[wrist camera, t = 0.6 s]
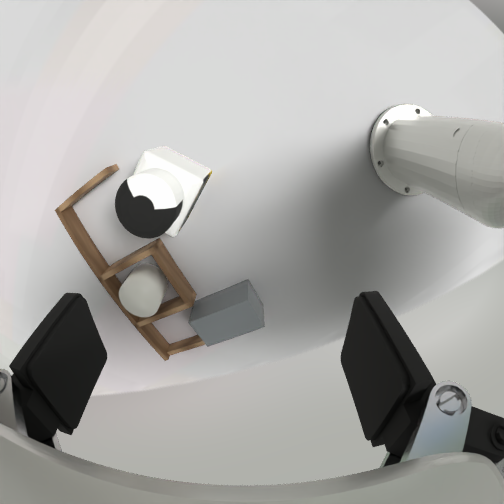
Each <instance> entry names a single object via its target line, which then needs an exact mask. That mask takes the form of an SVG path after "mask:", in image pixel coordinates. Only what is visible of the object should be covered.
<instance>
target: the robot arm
mask: <svg viewBox="0 0 504 504" xmlns="http://www.w3.org/2000/svg"><path fill="white" fill-rule="evenodd" d="M383 120H384V124H383ZM370 153H371V159H372V163H373V166H374V168H375V170H376V173H377V175H378V176H379V177H380V179H381V180H382V181H383V182H384V183H385V184H386V185H387V186H388V187H389V188H391V189H392V190H394V191H396V192H398V193H400V194H403V195H413V196H414V195H419V194H422V193H426V194H428V195H430V196H432V197H434V198H436V199H438V200H440V201H442V202H444V203H445V204H447V205H449V206H451V207H453V208H455V209H457V210H458V211H460V212H462V213H464V214H465V215H467V216H469V217H471V218H472V219H474V220H476V221H478V222H480V223H481V224H483V225H485V226H488V227H491V228H500V229H501V228H504V123H501V122H494V121H487V120H478V119H469V118H458V117H444V116H433V115H432V114H430V113H429V112H428V111H427V110H425V109H423V108H421V107H420V106H416V105H413V104H400V105H396V106H393V107H391V108H389V109H387V110H386V111H385V112H384V113H383V114H382V115H381V116H380V117H379V118H378V120H377V121H376V123H375V125H374V128H373V130H372V134H371V139H370ZM378 161H379V164H378ZM106 360H107V352H106V349H105V347H104V345H103V343H102V340H101V338H100V335H99V333H98V330H97V328H96V325H95V323H94V320H93V318H92V315H91V312H90V310H89V307H88V304H87V301H86V299H85V298H83V296H82V295H81V294H79V293H66V294H64V296H63V297H62V298H61V299H60V300H59V301H58V303H57V304H56V305H55V306H54V307H53V309H52V310H51V311H50V312H49V313H48V315H47V316H46V317H45V318H44V320H43V321H42V322H41V323H40V325H39V326H38V327H37V328H36V330H35V331H34V332H33V334H32V335H31V336H30V338H29V339H28V340H27V342H26V343H25V344H24V346H23V347H22V348H21V350H20V351H19V353H18V354H17V355H16V357H15V358H14V360H13V361H12V363H11V364H10V366H9V367H10V368H11V370H12V371H13V373H14V374H13V375H12V376H11V375H10V373H9V372H8V371H7V370H5V369H0V504H504V418H502V417H499V416H496V415H493V414H491V413H488V412H485V411H483V410H480V409H478V408H475V407H472V404H471V397H470V394H469V393H468V391H467V390H466V389H465V388H464V387H463V386H462V385H460V384H458V383H456V382H453V381H443V382H440V383H438V384H437V385H436V383H435V381H434V379H433V377H432V375H431V374H430V372H429V370H428V369H427V367H426V365H425V364H424V362H423V360H422V358H421V357H420V355H419V353H418V352H417V350H416V348H415V347H414V345H413V344H412V342H411V340H410V339H409V337H408V336H407V334H406V332H405V331H404V330H403V328H402V326H401V325H400V323H399V322H398V321H397V319H396V317H395V316H394V314H393V313H392V311H391V310H390V308H389V307H388V305H387V304H386V302H385V301H384V299H383V298H382V296H381V295H380V293H379V292H377V291H372V292H362V293H360V295H359V297H356V298H355V300H354V304H353V308H352V313H351V317H350V321H349V325H348V329H347V333H346V337H345V341H344V345H343V349H342V352H341V364H342V367H343V370H344V373H345V375H346V379H347V381H348V384H349V388H350V391H351V394H352V397H353V400H354V403H355V406H356V409H357V412H358V416H359V419H360V422H361V425H362V428H363V432H364V435H365V438H366V439H367V440H371V443H372V446H373V447H375V446H379V445H383V444H385V447H386V450H387V451H388V452H387V454H386V456H385V458H384V460H383V462H382V464H381V466H380V468H378V469H374V470H370V471H366V472H361V473H357V474H352V475H347V476H342V477H336V478H330V479H324V480H317V481H309V482H301V483H291V484H278V485H255V486H233V485H211V484H198V483H188V482H179V481H171V480H165V479H159V478H153V477H147V476H143V475H138V474H134V473H129V472H125V471H121V470H117V469H113V468H110V467H106V466H103V465H99V464H96V463H93V462H90V461H87V460H84V459H81V458H78V457H75V456H72V455H69V454H67V453H64V452H62V450H61V447H60V444H59V441H58V438H57V434H56V430H57V428H58V429H59V430H60V431H61V432H64V433H67V434H69V435H72V433H73V430H74V429H75V428H77V426H78V424H79V422H80V419H81V417H82V414H83V412H84V410H85V407H86V405H87V403H88V400H89V398H90V396H91V393H92V391H93V389H94V387H95V384H96V382H97V380H98V378H99V376H100V373H101V371H102V369H103V367H104V365H105V363H106Z"/></svg>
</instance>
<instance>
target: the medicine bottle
mask: <svg viewBox="0 0 504 504" xmlns="http://www.w3.org/2000/svg"><path fill="white" fill-rule="evenodd" d="M211 174H212V170H211V169H209V168H207V167H205V166H203V165H201V164H199V163H198V162H196V161H194V160H192V159H190V158H188V157H186V156H184V155H182V154H180V153H178V152H176V151H174V150H172V149H170V148H168V147H166V146H162V147H158V148H154V149H150V150H146V151H144V152H143V153H142V155H141V158H140V160H139V162H138V164H137V167H136V169H135V171H134V174H133V176H131V177H129V178H128V179H126V180H125V181H124V182H123V183H122V184H121V186H120V187H119V189H118V191H117V194H116V199H115V208H116V213H117V216H118V218H119V220H120V222H121V224H122V225H123V226H124V227H125V229H127V230H128V231H129V232H130V233H132V234H134V235H136V236H138V237H142V238H154V237H158V236H160V235H162V234H164V233H166V234H168V235H169V236H171V237H176V235H177V234H178V232H179V231H180V229H181V228H182V226H183V225H184V223H185V222H186V220H187V219H188V217H189V215H190V213H191V211H192V209H193V207H194V205H195V203H196V202H197V200H198V198H199V196H200V194H201V192H202V190H203V188H204V186H205V185H206V183H207V181H208V179H209V177H210V175H211Z"/></svg>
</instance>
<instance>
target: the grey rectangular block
mask: <svg viewBox="0 0 504 504" xmlns="http://www.w3.org/2000/svg"><path fill="white" fill-rule="evenodd" d="M188 323H189V324H190V325H191V326H192V328H193V329H194V330H195V332H196V333H197V334H198V335H199V337H200V338H201V339H202V340H203V342H204V343H205V344H206V345H207V347H208V346H211V345H214V344H217V343H220V342H223V341H226V340H229V339H232V338H234V337H237V336H240V335H243V334H246V333H249V332H251V331H254V330H257V329H260V328H262V327H264V312H263V304H262V302H261V301H260V299H259V297H258V296H257V294H256V292H255V290H254V289H253V287H252V285H251V283H250V282H249V280H246V281H243V282H241V283H238V284H236V285H234V286H231V287H229V288H226V289H224V290H222V291H219V292H217V293H214V294H212V295H209V296H207V297H204V298H202V299H200V300H197V301H195V302H194V305H193V308H192V312H191V315H190V319H189V322H188Z"/></svg>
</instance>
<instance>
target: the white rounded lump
mask: <svg viewBox="0 0 504 504" xmlns="http://www.w3.org/2000/svg"><path fill="white" fill-rule="evenodd" d="M167 288H168V280H167V277H166V276H165V274H164V273H163V271H162V270H161V269H160V268H158V267H157V266H155V265H153V264H149V263H142V264H139V265H137V266H136V267H135V268H134V269H133V270H132V272H131V273H130V274H129V276H128V277H127V279H126V280H125V282H124V283H123V284H122V286H121V287H120V290H119V299H120V301H121V303H122V305H123V306H124V308H125V309H126V310H127V311H129V312H130V313H132V314H133V315H136V316H139V317H150V316H152V315H154V314H155V313H156V312H157V311H158V309H159V306H160V304H161V302H162V300H163V297H164V295H165V293H166V291H167Z"/></svg>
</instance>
